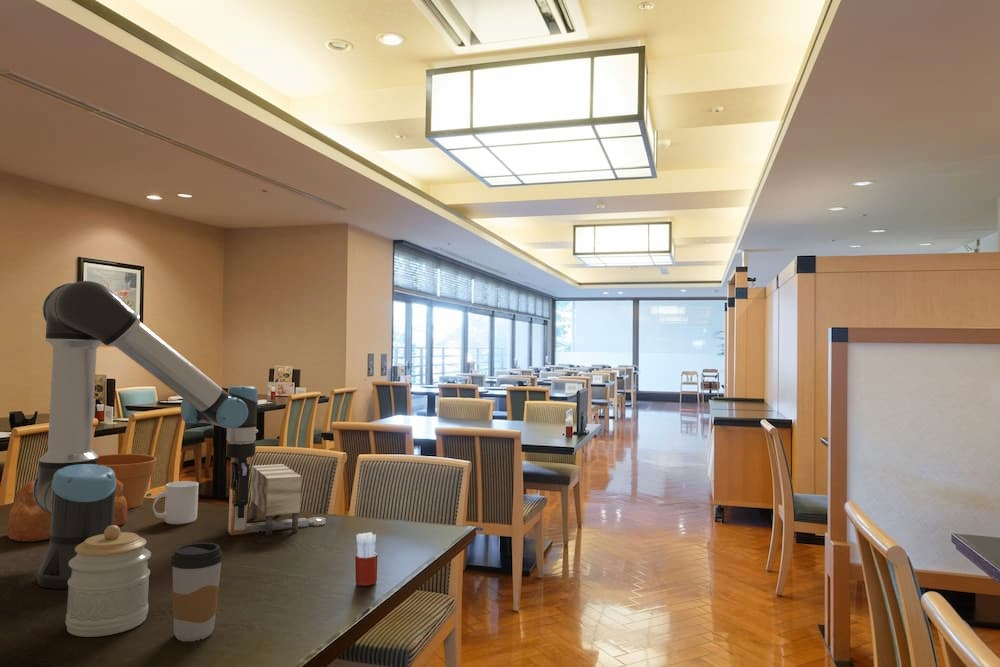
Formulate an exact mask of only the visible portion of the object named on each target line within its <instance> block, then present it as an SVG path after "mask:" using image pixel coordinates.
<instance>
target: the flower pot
mask: <svg viewBox="0 0 1000 667" xmlns="http://www.w3.org/2000/svg"><path fill="white" fill-rule="evenodd" d="M157 459H158V458H157V457H156V456H153V455H148V454H143V453H142V454H138V453H115V454H114V453H113V454H112V453H111V454H102V455H101V454H100V455H98V466H101V465H103V466H107V467H109V468H111V469H112V470H113V471H114V473H115V477H116V479H117V480H119V481H120V482H122V483H123V496H124V498H125V499H126V503H127V510H131V509H134V508H135V509H136V508H138V507H141V505H143V502H144V499H145V495H146V493H147V490H148V488H149V484H150V480H151V478H152V477H151V476H152V475H153V473H155V471H156V466H157Z"/></svg>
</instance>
